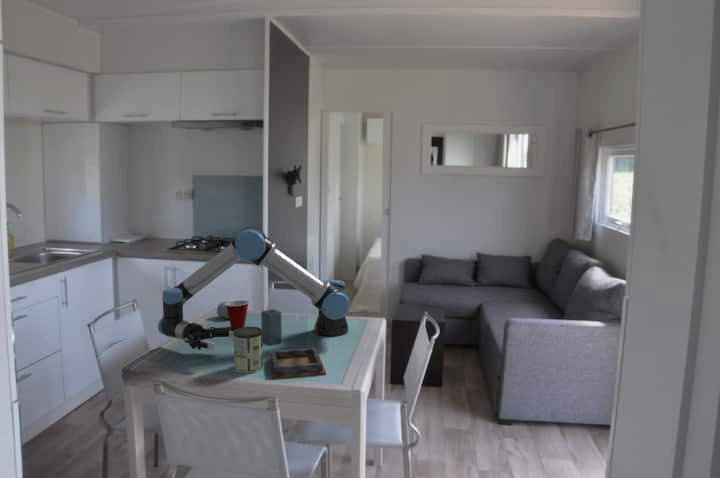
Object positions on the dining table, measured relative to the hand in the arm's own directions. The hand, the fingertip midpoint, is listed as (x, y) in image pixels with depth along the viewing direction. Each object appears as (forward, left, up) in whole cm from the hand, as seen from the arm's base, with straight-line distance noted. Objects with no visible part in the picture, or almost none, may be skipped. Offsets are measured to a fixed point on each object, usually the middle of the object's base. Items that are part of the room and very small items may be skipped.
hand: (228, 342), depth 195 cm
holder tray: (-24, +9, -8) cm, 27 cm away
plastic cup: (-3, -43, -8) cm, 44 cm away
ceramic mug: (0, -61, -8) cm, 61 cm away
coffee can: (-7, +7, -8) cm, 13 cm away
